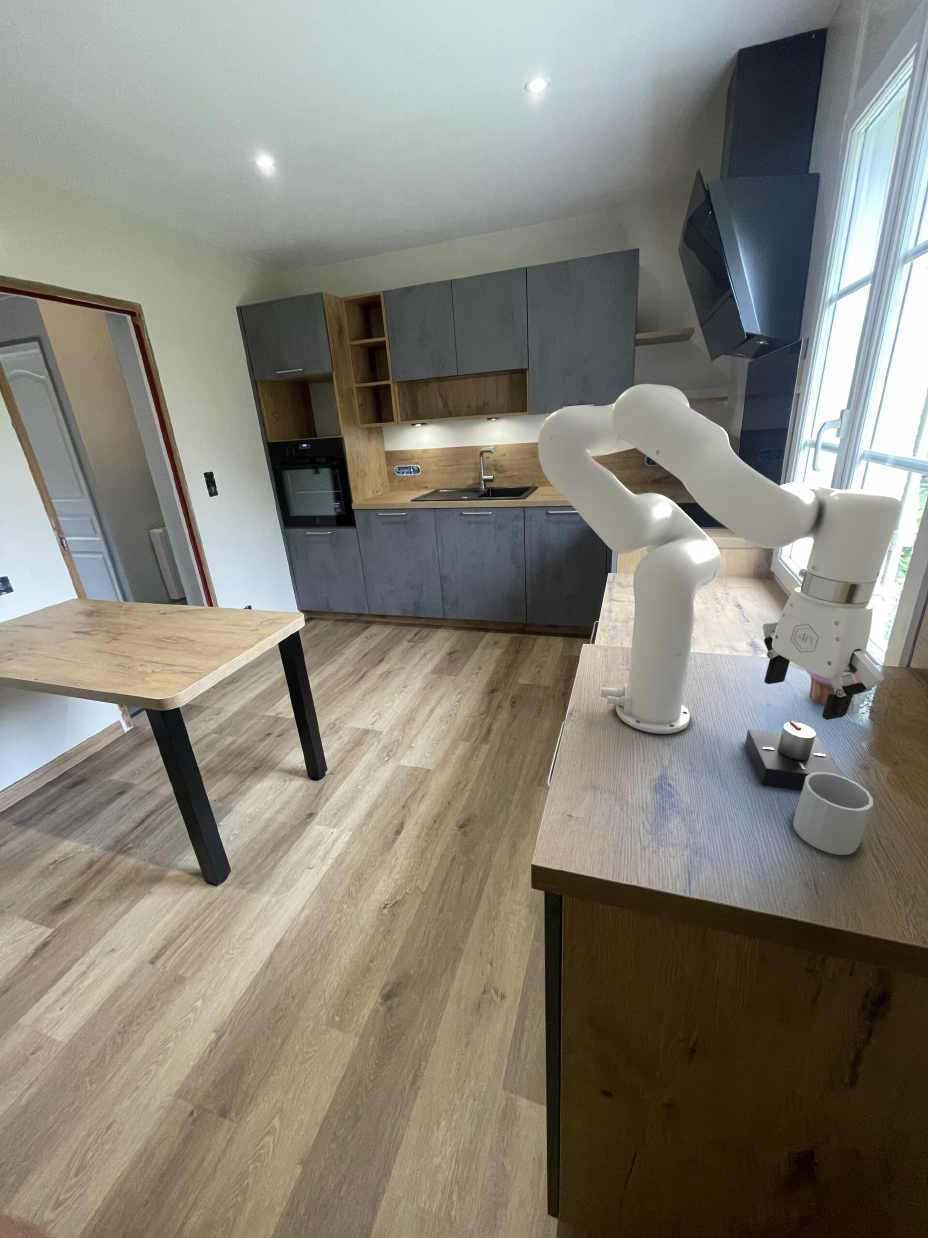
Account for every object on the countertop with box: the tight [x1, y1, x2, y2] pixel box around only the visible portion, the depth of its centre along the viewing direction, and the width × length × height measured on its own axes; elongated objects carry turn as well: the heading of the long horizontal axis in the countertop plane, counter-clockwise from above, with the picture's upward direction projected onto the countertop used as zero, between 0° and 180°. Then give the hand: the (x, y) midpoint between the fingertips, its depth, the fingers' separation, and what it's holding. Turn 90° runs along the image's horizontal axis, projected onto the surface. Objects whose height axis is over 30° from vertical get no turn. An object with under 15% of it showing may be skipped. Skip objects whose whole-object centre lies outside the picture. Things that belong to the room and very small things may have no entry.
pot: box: [792, 772, 874, 856], centre depth 61 cm, size 7×7×7 cm
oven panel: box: [744, 729, 846, 791], centre depth 74 cm, size 10×10×3 cm
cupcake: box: [805, 669, 862, 705], centre depth 90 cm, size 9×9×10 cm
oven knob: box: [778, 720, 817, 760], centre depth 72 cm, size 4×4×4 cm
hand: (801, 698), depth 70 cm, fingers open, 9 cm apart
